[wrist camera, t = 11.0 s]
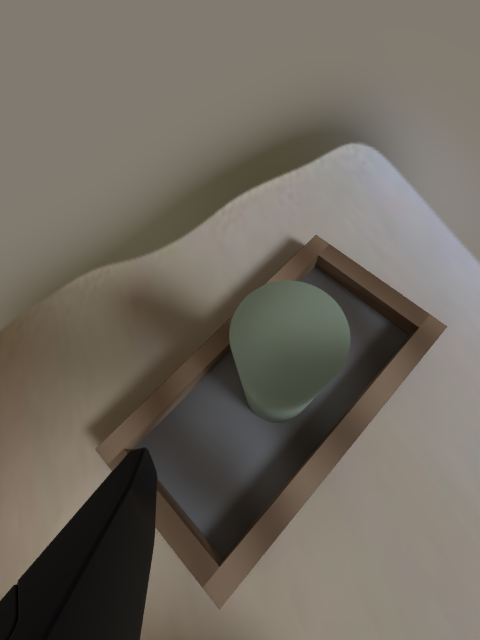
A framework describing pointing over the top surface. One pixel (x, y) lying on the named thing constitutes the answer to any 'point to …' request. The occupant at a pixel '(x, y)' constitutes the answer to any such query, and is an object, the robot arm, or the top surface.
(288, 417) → the post
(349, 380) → the brown wooden flat tray
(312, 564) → the top surface
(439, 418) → the top surface
